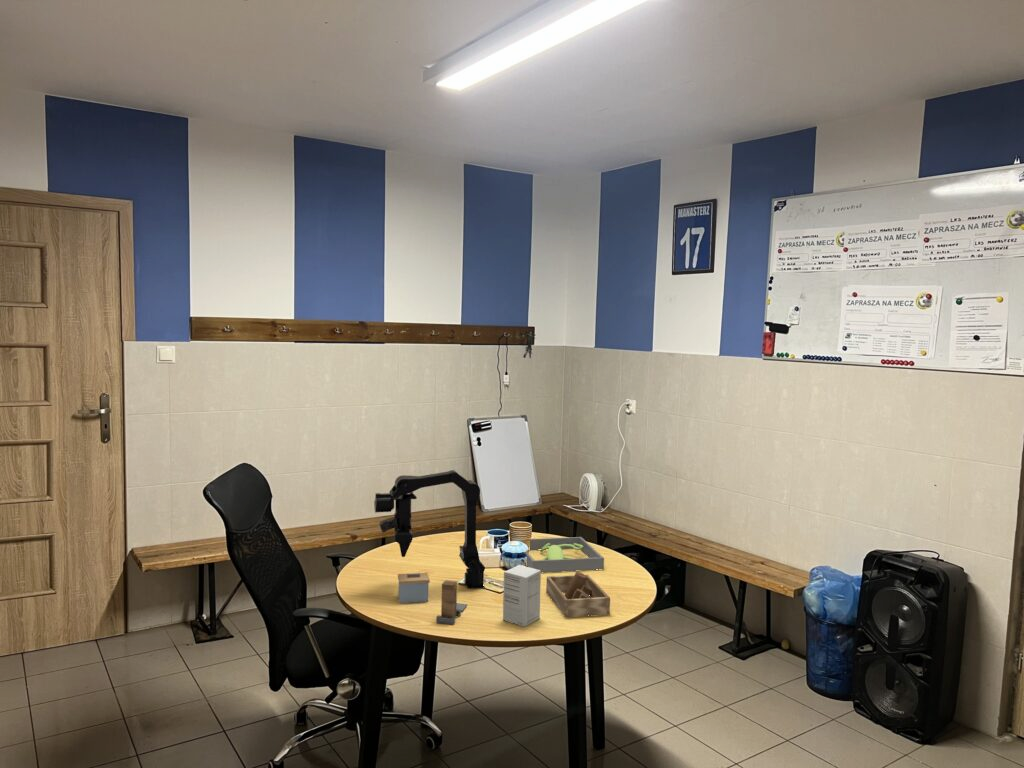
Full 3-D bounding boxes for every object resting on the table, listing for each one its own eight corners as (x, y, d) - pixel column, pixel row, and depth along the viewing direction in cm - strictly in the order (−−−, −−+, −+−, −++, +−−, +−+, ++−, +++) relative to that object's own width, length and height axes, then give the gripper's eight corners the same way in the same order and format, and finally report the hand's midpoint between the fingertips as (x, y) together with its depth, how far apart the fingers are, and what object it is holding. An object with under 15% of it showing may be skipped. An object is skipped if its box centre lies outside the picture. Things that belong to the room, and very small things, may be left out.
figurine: (583, 553, 326) (584, 541, 326) (578, 573, 300) (578, 559, 299) (541, 550, 329) (542, 537, 329) (532, 569, 303) (533, 556, 303)
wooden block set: (584, 620, 258) (597, 594, 256) (562, 609, 258) (574, 583, 257) (586, 599, 276) (598, 575, 274) (564, 588, 276) (576, 564, 275)
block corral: (587, 590, 280) (587, 574, 280) (609, 614, 257) (610, 597, 256) (546, 592, 277) (546, 576, 276) (564, 617, 253) (565, 600, 253)
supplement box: (517, 611, 258) (519, 564, 256) (540, 618, 252) (542, 569, 251) (501, 620, 250) (503, 571, 248) (524, 627, 244) (526, 577, 243)
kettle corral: (580, 547, 333) (581, 536, 332) (603, 569, 304) (604, 557, 303) (515, 550, 326) (515, 539, 326) (532, 573, 297) (532, 561, 297)
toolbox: (426, 594, 272) (427, 570, 271) (429, 601, 264) (429, 577, 263) (397, 595, 269) (397, 571, 269) (399, 603, 262) (399, 578, 261)
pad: (450, 604, 263) (450, 602, 263) (467, 605, 261) (467, 604, 261) (445, 610, 257) (445, 608, 257) (462, 612, 256) (462, 610, 256)
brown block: (444, 616, 252) (445, 580, 251) (456, 617, 251) (456, 581, 250) (441, 620, 248) (441, 584, 247) (452, 622, 247) (453, 585, 246)
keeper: (443, 613, 254) (443, 607, 254) (460, 615, 253) (460, 609, 253) (436, 622, 246) (436, 616, 246) (453, 624, 245) (453, 618, 245)
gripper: (380, 505, 279) (380, 545, 281) (380, 518, 261) (380, 561, 262) (411, 504, 281) (410, 545, 283) (412, 517, 263) (412, 560, 264)
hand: (402, 552), depth 273 cm, fingers open, 9 cm apart
